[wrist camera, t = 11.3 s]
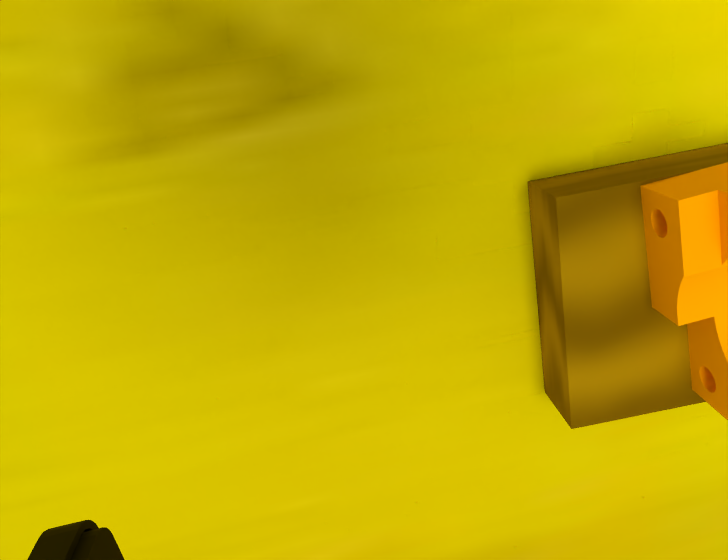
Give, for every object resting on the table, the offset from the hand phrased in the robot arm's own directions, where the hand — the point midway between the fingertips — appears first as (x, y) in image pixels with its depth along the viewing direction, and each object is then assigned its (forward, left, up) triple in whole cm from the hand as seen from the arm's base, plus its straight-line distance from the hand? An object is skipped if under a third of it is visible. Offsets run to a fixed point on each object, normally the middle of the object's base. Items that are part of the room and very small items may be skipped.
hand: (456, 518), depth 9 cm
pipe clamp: (+8, +16, -22) cm, 28 cm away
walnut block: (+8, +16, -25) cm, 31 cm away
